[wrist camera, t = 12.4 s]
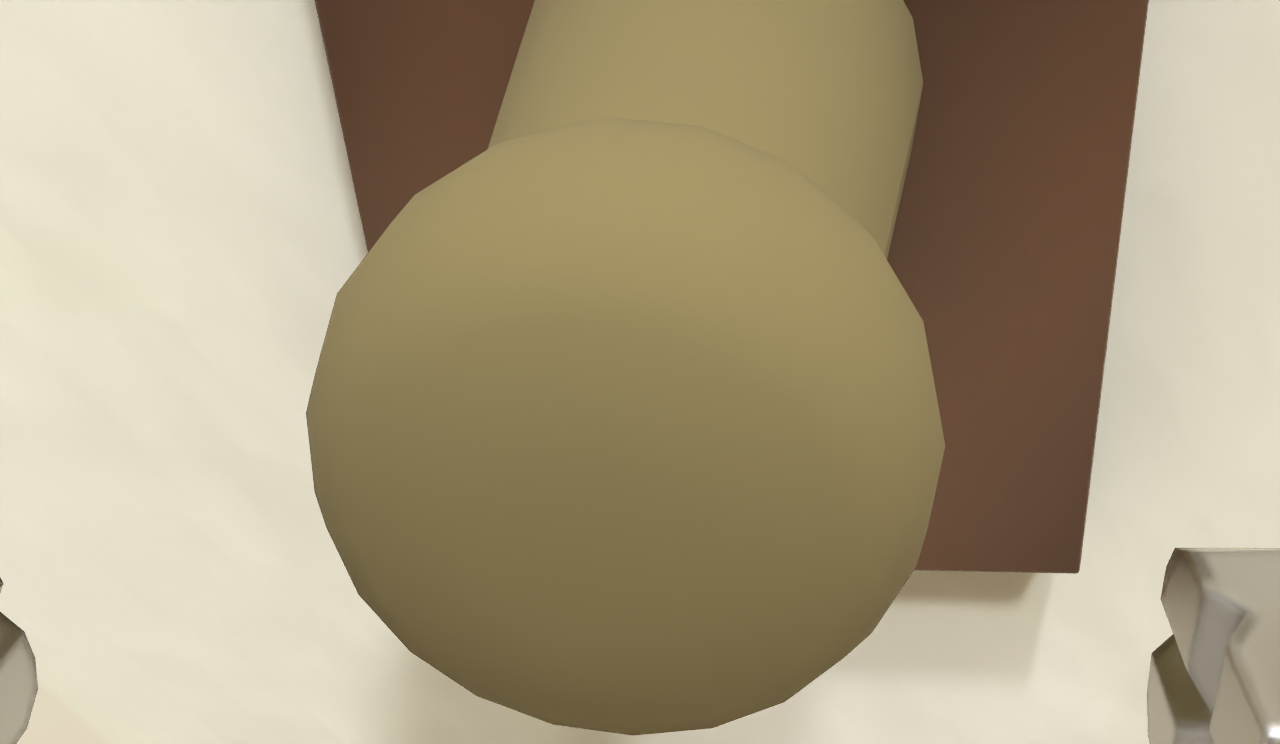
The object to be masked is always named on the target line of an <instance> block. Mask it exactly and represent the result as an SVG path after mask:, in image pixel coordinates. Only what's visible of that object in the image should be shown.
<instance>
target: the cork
mask: <svg viewBox="0 0 1280 744" xmlns="http://www.w3.org/2000/svg"><path fill="white" fill-rule="evenodd" d="M922 87H923V78H922V71H921V65H920V59H919V53H918V47H917V41H916V34H915V28H914V22H913V18H912V16H911V14H910V12H909V10H908V8H907V6H906V5H905V3H904V1H903V0H535V1H534V5H533V8H532V11H531V14H530V17H529V20H528V23H527V26H526V29H525V32H524V35H523V38H522V41H521V44H520V48H519V51H518V54H517V57H516V60H515V63H514V67H513V70H512V73H511V76H510V79H509V83H508V86H507V89H506V92H505V95H504V99H503V102H502V105H501V108H500V111H499V114H498V118H497V121H496V124H495V127H494V130H493V134H492V137H491V140H490V143H489V146H488V150H486V151H484V152H483V153H481V154H480V155H478V156H476V157H475V158H473V159H472V160H470V161H468V162H467V163H465V164H463V165H462V166H460V167H459V168H457V169H455V170H454V171H452V172H451V173H449V174H447V175H446V176H444V177H443V178H441V179H439V180H438V181H436V182H434V183H433V184H431V185H430V186H428V187H426V188H425V189H423V190H422V191H420V192H418V193H417V194H415V195H414V196H413V197H412V199H411V200H410V201H409V202H408V203H407V205H406V206H405V207H404V208H403V209H402V210H401V212H400V213H399V214H398V215H397V216H396V218H395V219H394V220H393V221H392V222H391V224H390V225H389V226H388V228H387V229H386V230H385V232H384V233H383V234H382V235H381V237H380V238H379V239H378V241H377V242H376V243H375V245H374V246H373V247H372V249H371V250H370V251H369V253H368V254H367V255H366V256H365V258H364V259H363V260H362V262H361V263H360V264H359V266H358V267H357V268H356V270H355V271H354V272H353V274H352V275H351V276H350V277H349V279H348V280H347V281H346V283H345V284H344V285H343V287H342V288H341V289H340V291H339V292H338V293H337V296H336V299H335V303H334V307H333V310H332V314H331V318H330V321H329V325H328V329H327V332H326V336H325V340H324V343H323V347H322V351H321V354H320V358H319V362H318V365H317V369H316V373H315V377H314V381H313V385H312V390H311V394H310V398H309V403H308V407H307V411H306V417H307V426H308V435H309V444H310V453H311V462H312V471H313V480H314V489H315V494H316V497H317V500H318V503H319V506H320V509H321V512H322V515H323V518H324V521H325V524H326V527H327V529H328V532H329V534H330V536H331V538H332V540H333V542H334V544H335V546H336V548H337V550H338V552H339V555H340V557H341V559H342V561H343V563H344V565H345V567H346V569H347V571H348V573H349V575H350V578H351V580H352V582H353V584H354V586H355V588H356V590H357V592H358V594H359V595H360V597H361V598H362V599H363V600H364V601H365V602H366V603H367V604H368V605H369V606H370V608H371V609H372V610H373V611H374V612H375V613H376V614H377V615H378V616H379V618H380V619H381V620H382V621H383V622H384V623H385V624H386V625H387V626H388V627H389V629H390V630H391V631H392V632H393V633H394V634H395V635H396V636H397V637H398V639H399V640H400V641H401V642H402V643H403V644H404V645H405V646H406V647H407V649H408V650H409V651H410V652H412V653H413V654H415V655H416V656H418V657H419V658H421V659H422V660H424V661H425V662H427V663H428V664H430V665H431V666H433V667H434V668H436V669H437V670H439V671H440V672H442V673H443V674H445V675H446V676H448V677H449V678H451V679H452V680H454V681H455V682H457V683H458V684H460V685H461V686H463V687H464V688H466V689H467V690H469V691H470V692H472V693H473V694H475V695H476V696H479V697H481V698H484V699H487V700H489V701H492V702H495V703H497V704H500V705H503V706H505V707H508V708H511V709H513V710H516V711H519V712H521V713H524V714H527V715H529V716H532V717H535V718H537V719H540V720H543V721H545V722H548V723H551V724H555V725H562V726H569V727H576V728H584V729H591V730H598V731H605V732H612V733H620V734H627V735H642V734H653V733H664V732H674V731H685V730H696V729H707V728H713V727H716V726H719V725H722V724H725V723H727V722H730V721H733V720H736V719H738V718H741V717H744V716H747V715H750V714H752V713H755V712H758V711H761V710H763V709H766V708H769V707H772V706H775V705H777V704H780V703H783V702H785V701H786V700H788V699H789V698H790V697H792V696H793V695H794V694H796V693H797V692H798V691H800V690H801V689H802V688H804V687H805V686H806V685H808V684H809V683H810V682H812V681H813V680H814V679H816V678H817V677H819V676H820V675H821V674H823V673H824V672H825V671H827V670H828V669H829V668H831V667H832V666H833V665H835V664H836V663H837V662H839V661H840V660H841V659H843V658H844V657H845V656H846V655H847V654H848V653H850V652H851V651H852V650H853V649H854V648H855V647H856V646H857V645H859V644H860V643H861V642H862V641H863V640H864V639H865V638H866V637H868V636H869V635H870V634H871V633H872V632H873V630H874V629H875V627H876V626H877V624H878V623H879V621H880V620H881V618H882V617H883V615H884V614H885V612H886V611H887V609H888V608H889V606H890V605H891V603H892V602H893V600H894V599H895V597H896V596H897V594H898V593H899V591H900V590H901V588H902V587H903V585H904V584H905V582H906V581H907V579H908V578H909V576H910V575H911V573H912V572H913V570H914V569H915V567H916V565H917V562H918V559H919V555H920V552H921V549H922V546H923V542H924V539H925V536H926V532H927V529H928V525H929V520H930V516H931V511H932V506H933V501H934V497H935V492H936V487H937V482H938V478H939V473H940V468H941V464H942V459H943V454H944V449H945V441H944V435H943V430H942V424H941V418H940V412H939V406H938V401H937V395H936V390H935V384H934V378H933V373H932V367H931V362H930V356H929V350H928V345H927V339H926V333H925V328H924V322H923V320H922V318H921V317H920V315H919V313H918V311H917V310H916V308H915V306H914V305H913V303H912V301H911V300H910V298H909V296H908V295H907V293H906V291H905V290H904V288H903V286H902V285H901V283H900V281H899V280H898V278H897V276H896V274H895V273H894V271H893V269H892V268H891V266H890V264H889V263H888V261H887V258H888V253H889V249H890V244H891V240H892V235H893V231H894V226H895V222H896V217H897V213H898V208H899V204H900V200H901V195H902V191H903V186H904V182H905V177H906V173H907V168H908V164H909V159H910V155H911V150H912V146H913V140H914V134H915V129H916V123H917V117H918V111H919V105H920V99H921V93H922Z"/></svg>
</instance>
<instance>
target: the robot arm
mask: <svg viewBox="0 0 1280 744" xmlns="http://www.w3.org/2000/svg"><path fill="white" fill-rule="evenodd" d="M2 587H3V582H2V580H1V578H0V592H1V589H2ZM1161 601H1162V604H1163V607H1164V609H1165V612H1166V615H1167V618H1168V620H1169V623H1170V626H1171V629H1172V631H1173V635H1172V636H1171V637H1170V638H1168V639H1167V640H1166V641H1165V642H1164V643H1163V644H1162V645H1161V646H1159V647H1158V648H1157V649H1156V650H1155V651H1154V652H1153V653H1152V656H1151V664H1150V672H1149V680H1148V688H1147V715H1148V738H1149V743H1150V744H1280V548H1175V549H1174V551H1173V553H1172V556H1171V558H1170V560H1169V562H1168V565H1167V567H1166V572H1165V577H1164V583H1163V589H1162V594H1161ZM37 691H38V684H37V673H36V662H35V656H34V654H33V652H32V649H31V647H30V644H29V642H28V640H27V637H26V635H25V632H24V631H23V630H22V629H20V628H19V627H18V626H17V625H15V624H14V623H13V622H12V621H11V620H9V619H8V618H7V617H6V616H5V615H3V614H2V613H1V612H0V744H16V743H17V742H18V741H19V739H20V738H21V736H22V735H23V733H24V732H25V730H26V729H27V726H28V723H29V719H30V716H31V712H32V708H33V705H34V701H35V698H36V694H37Z"/></svg>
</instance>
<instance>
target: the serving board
mask: <svg viewBox="0 0 1280 744" xmlns="http://www.w3.org/2000/svg"><path fill="white" fill-rule="evenodd" d="M534 1H535V0H315V4H316V9H317V13H318V18H319V23H320V27H321V32H322V37H323V42H324V46H325V51H326V56H327V61H328V65H329V70H330V75H331V79H332V84H333V89H334V94H335V98H336V103H337V108H338V113H339V117H340V122H341V127H342V131H343V136H344V141H345V146H346V150H347V155H348V160H349V164H350V169H351V174H352V179H353V183H354V188H355V193H356V198H357V202H358V207H359V212H360V216H361V221H362V226H363V231H364V235H365V240H366V245H367V250H368V253H369V251H370V250H371V249H372V247H373V246H374V245H375V243H376V242H377V241H378V239H379V238H380V237H381V235H382V234H383V233H384V232H385V230H386V229H387V228H388V226H389V225H390V224H391V222H392V221H393V220H394V219H395V218H396V216H397V215H398V214H399V213H400V212H401V210H402V209H403V208H404V207H405V206H406V205H407V203H408V202H409V201H410V200H411V199H412V197H413V196H414V195H415V194H417V193H418V192H420V191H422V190H423V189H425V188H426V187H428V186H430V185H431V184H433V183H434V182H436V181H438V180H439V179H441V178H443V177H444V176H446V175H447V174H449V173H451V172H452V171H454V170H455V169H457V168H459V167H460V166H462V165H463V164H465V163H467V162H468V161H470V160H472V159H473V158H475V157H476V156H478V155H480V154H481V153H483V152H484V151H486V150H488V146H489V143H490V140H491V137H492V134H493V130H494V127H495V124H496V121H497V118H498V114H499V111H500V108H501V105H502V102H503V99H504V95H505V92H506V89H507V86H508V83H509V79H510V76H511V73H512V70H513V67H514V63H515V60H516V57H517V54H518V51H519V48H520V44H521V41H522V38H523V35H524V32H525V29H526V26H527V23H528V20H529V17H530V14H531V11H532V8H533V5H534ZM903 1H904V3H905V5H906V6H907V8H908V10H909V12H910V14H911V16H912V18H913V22H914V28H915V34H916V41H917V47H918V53H919V59H920V65H921V71H922V78H923V87H922V93H921V99H920V105H919V111H918V117H917V123H916V129H915V134H914V140H913V146H912V150H911V155H910V159H909V164H908V168H907V173H906V177H905V182H904V186H903V191H902V195H901V200H900V204H899V208H898V213H897V217H896V222H895V226H894V231H893V235H892V240H891V244H890V249H889V253H888V258H887V261H888V263H889V264H890V266H891V268H892V269H893V271H894V273H895V274H896V276H897V278H898V280H899V281H900V283H901V285H902V286H903V288H904V290H905V291H906V293H907V295H908V296H909V298H910V300H911V301H912V303H913V305H914V306H915V308H916V310H917V311H918V313H919V315H920V317H921V318H922V320H923V322H924V328H925V333H926V339H927V345H928V350H929V356H930V362H931V367H932V373H933V378H934V384H935V390H936V395H937V401H938V406H939V412H940V418H941V424H942V430H943V435H944V441H945V449H944V454H943V459H942V464H941V468H940V473H939V478H938V482H937V487H936V492H935V497H934V501H933V506H932V511H931V516H930V520H929V525H928V529H927V532H926V536H925V539H924V542H923V546H922V549H921V552H920V555H919V559H918V562H917V565H916V567H915V569H914V570H932V571H981V572H1031V573H1078V572H1079V570H1080V562H1081V554H1082V546H1083V538H1084V529H1085V521H1086V513H1087V505H1088V496H1089V488H1090V480H1091V472H1092V463H1093V455H1094V447H1095V439H1096V430H1097V422H1098V414H1099V406H1100V397H1101V389H1102V381H1103V373H1104V364H1105V356H1106V348H1107V340H1108V332H1109V323H1110V315H1111V307H1112V299H1113V290H1114V282H1115V274H1116V266H1117V257H1118V249H1119V241H1120V233H1121V224H1122V216H1123V208H1124V200H1125V191H1126V183H1127V175H1128V167H1129V158H1130V150H1131V142H1132V134H1133V125H1134V117H1135V109H1136V101H1137V93H1138V84H1139V76H1140V68H1141V60H1142V51H1143V43H1144V35H1145V27H1146V18H1147V10H1148V2H1149V0H903Z"/></svg>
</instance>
